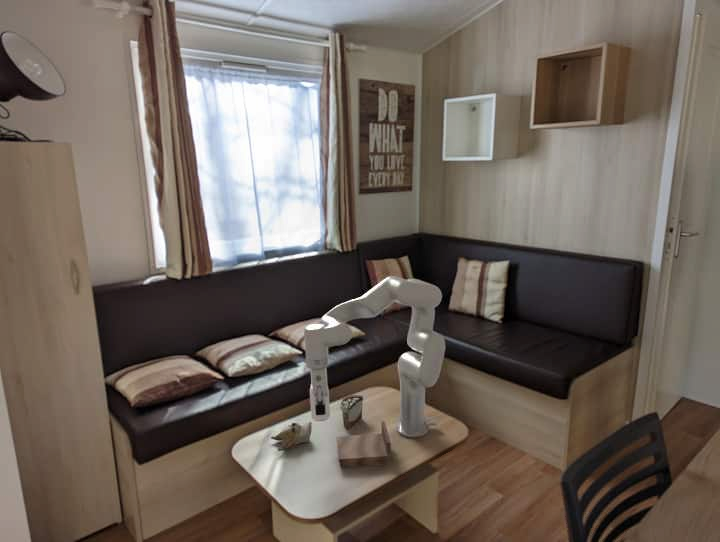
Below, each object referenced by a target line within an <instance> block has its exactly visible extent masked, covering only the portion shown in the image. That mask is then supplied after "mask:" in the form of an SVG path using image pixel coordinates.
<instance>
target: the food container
mask: <svg viewBox="0 0 720 542" xmlns="http://www.w3.org/2000/svg"><path fill="white" fill-rule="evenodd" d="M363 401H364V397H363V395H360V394H353V395H349V396H345V397H343V398H342V400H341V402H340V405H339V409H340V411H342V412H341V414H342V423H343V427H344V428H345V429H346V430H348V431H351V430H352V429H353V428H354V427H355V426H357V424H358V423H360V422H361V421H362V419H363V404H364V403H363Z"/></svg>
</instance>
